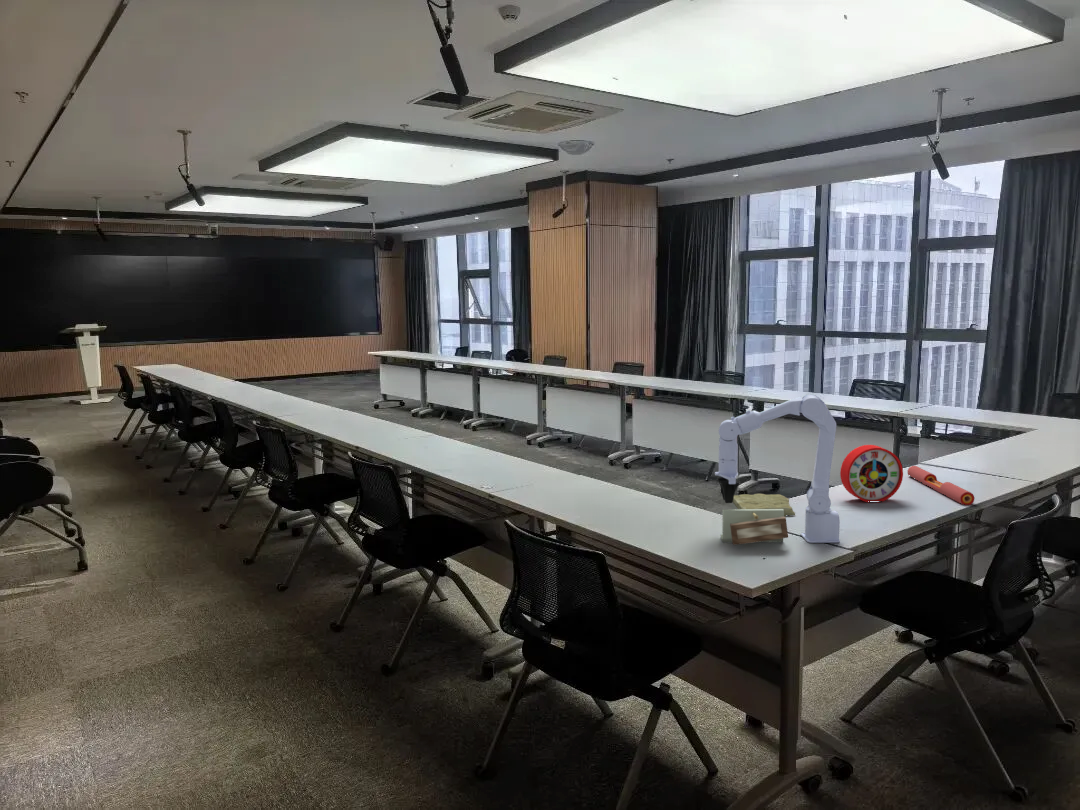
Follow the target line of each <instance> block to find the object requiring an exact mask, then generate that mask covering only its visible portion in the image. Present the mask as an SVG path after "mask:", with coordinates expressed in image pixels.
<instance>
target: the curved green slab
mask: <svg viewBox="0 0 1080 810" xmlns="http://www.w3.org/2000/svg"><path fill="white" fill-rule="evenodd" d="M777 517H785V516H784V510H783V509H738V508H737V509H736V508H735V509H733V508H731V509H728V508H727V509H723V508H722V519H721V520H722V522H721V523H722V525H721V526H722V527H721V528H722V531H721V532H722V533H721V534H720V540H721V541H722V542H721V543H732V536H731V529H730V524H733V523H741V522H748V521H755V520H762V519H769V518H777ZM758 543H784V538H782V539H774V540H767V541H759V542H758Z"/></svg>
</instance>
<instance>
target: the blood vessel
mask: <svg viewBox="0 0 1080 810" xmlns="http://www.w3.org/2000/svg"><path fill="white" fill-rule="evenodd" d="M907 475H908V476H909V475H910V476H911V477H913V478H915V479H916V480H915V479H914V480H915V481H917V480H918V481H917V482H919V481H920V482H919V483H921V482H922V483H921V484H923V485H924V486H926V485H927V487H928V486H929V488H930V487H931V488H930V489H932V488H933V489H932V490H934V491H936V492H938V493H940V494H941V495H943V494H944V496H945V495H946V496H945V497H947V498H949V499H951V500H953V501H954V502H957V503H959V504H960V503H961V504H960V505H963V504H965V505H963V506H967V505H968V506H971V505H972V504H973V503H974V502H975V495H974V494H973V493H972V492H971V491H969V490H966V489H964V488H963V487H960V486H958V485H956V484H954V483H952V482H949V481H945V482H941V481H939V480H938V478H937V476H936V475H935V474H933V473H932V472H929V471H927V470H926V469H923V468H921V467H919V466H917V465H911V466H910V467H909V468H908V469H907ZM910 476H909V477H910ZM911 477H910V478H911ZM913 478H912V479H913Z"/></svg>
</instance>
